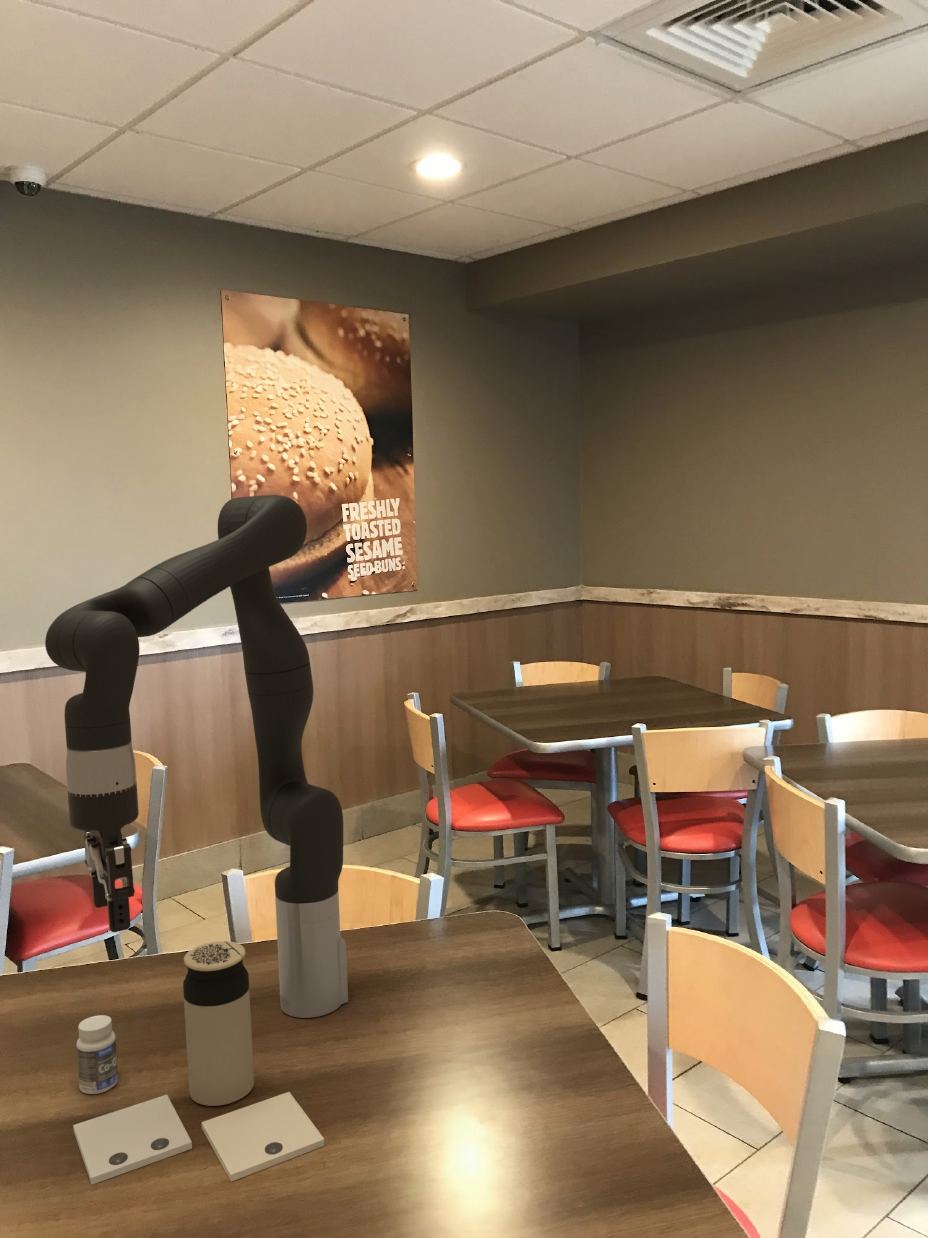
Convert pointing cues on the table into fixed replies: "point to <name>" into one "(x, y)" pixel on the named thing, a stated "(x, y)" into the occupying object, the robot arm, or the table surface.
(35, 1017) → the table surface
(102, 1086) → the pill bottle
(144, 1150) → the two-dot pad
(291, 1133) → the one-dot pad
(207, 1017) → the travel mug
